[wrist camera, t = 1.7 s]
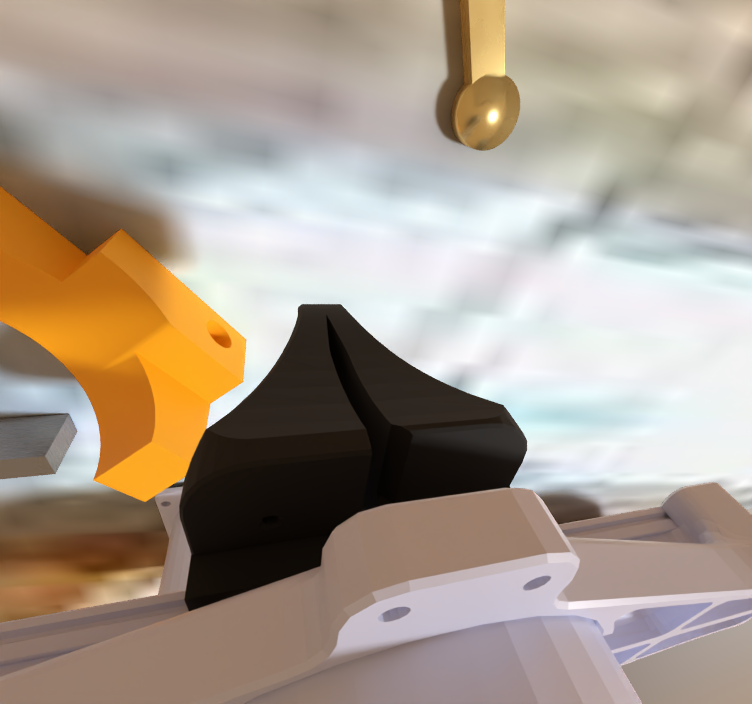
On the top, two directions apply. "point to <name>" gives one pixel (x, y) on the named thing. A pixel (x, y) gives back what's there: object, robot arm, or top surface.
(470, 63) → the brass spoon
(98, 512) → the top surface
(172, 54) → the top surface
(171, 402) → the pipe clamp
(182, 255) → the top surface
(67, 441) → the hitch bracket
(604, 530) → the robot arm
